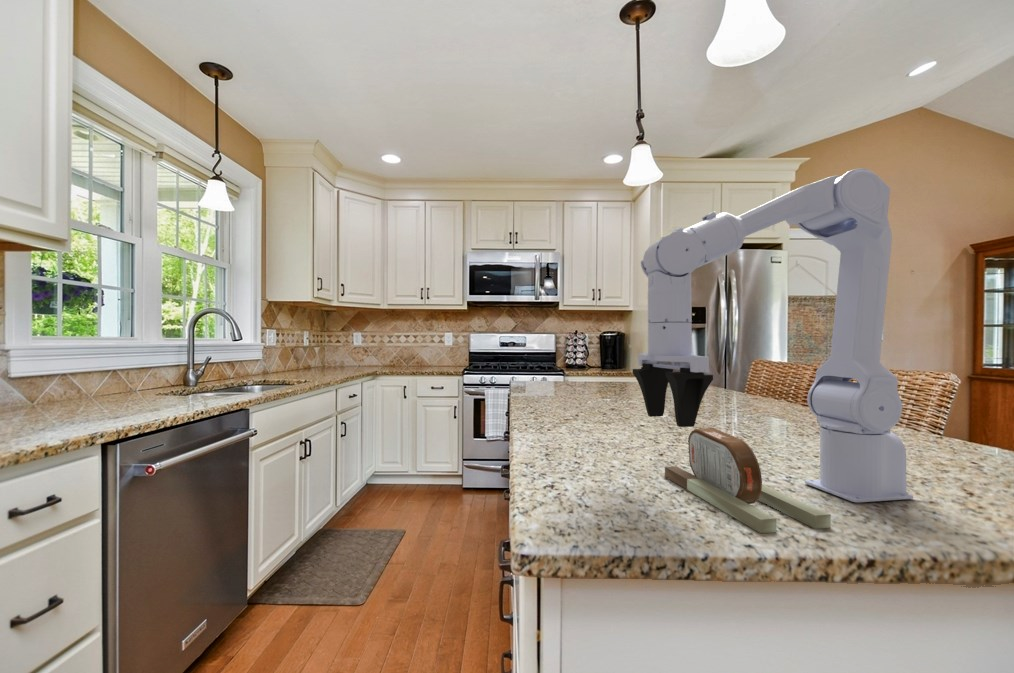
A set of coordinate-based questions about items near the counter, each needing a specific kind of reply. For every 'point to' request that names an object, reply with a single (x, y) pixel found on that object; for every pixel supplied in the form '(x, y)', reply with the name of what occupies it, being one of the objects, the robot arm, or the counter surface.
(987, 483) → the counter surface
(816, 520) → the rail
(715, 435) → the tin
